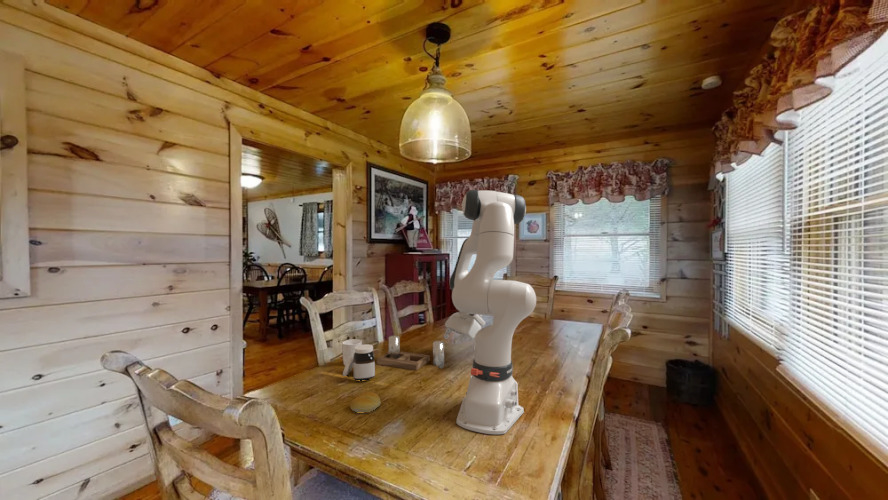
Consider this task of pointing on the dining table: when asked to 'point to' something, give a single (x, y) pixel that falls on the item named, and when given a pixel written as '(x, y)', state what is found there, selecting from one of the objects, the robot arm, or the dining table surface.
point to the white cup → (349, 349)
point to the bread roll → (365, 402)
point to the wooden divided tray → (404, 360)
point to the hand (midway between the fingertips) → (450, 340)
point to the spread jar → (361, 363)
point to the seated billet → (394, 347)
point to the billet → (438, 353)
